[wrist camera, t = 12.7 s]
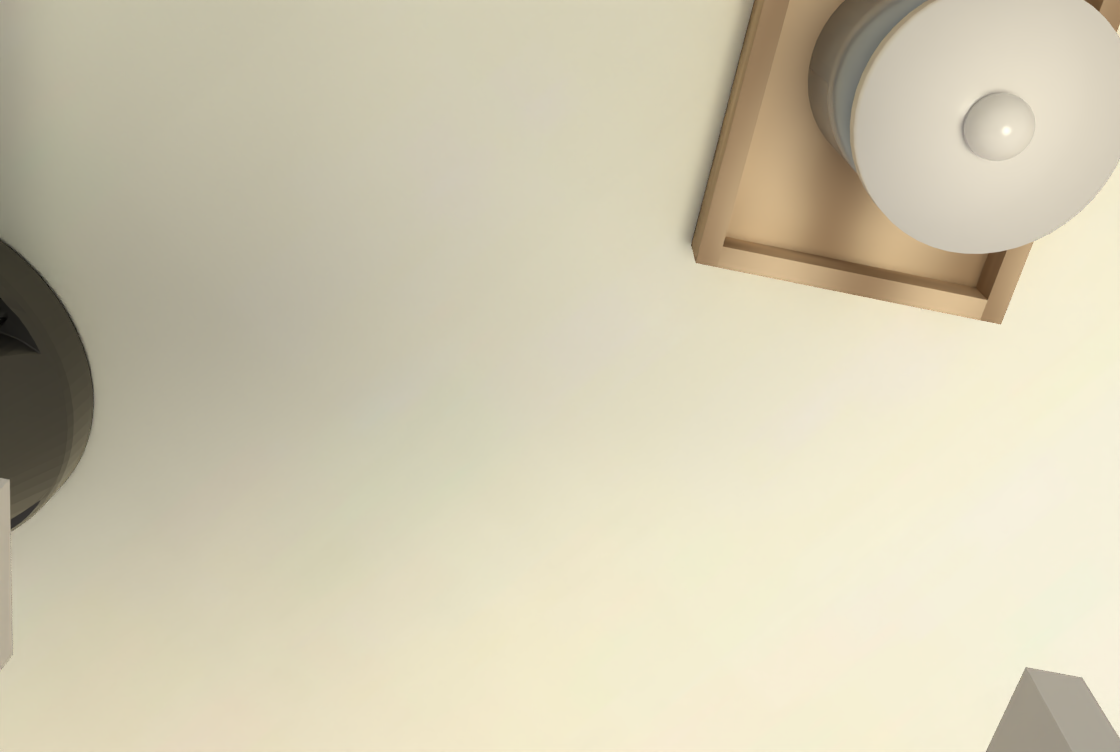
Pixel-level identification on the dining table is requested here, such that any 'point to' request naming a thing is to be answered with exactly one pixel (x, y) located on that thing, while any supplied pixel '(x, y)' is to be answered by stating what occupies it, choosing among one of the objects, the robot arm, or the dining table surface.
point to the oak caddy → (824, 190)
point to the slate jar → (971, 113)
